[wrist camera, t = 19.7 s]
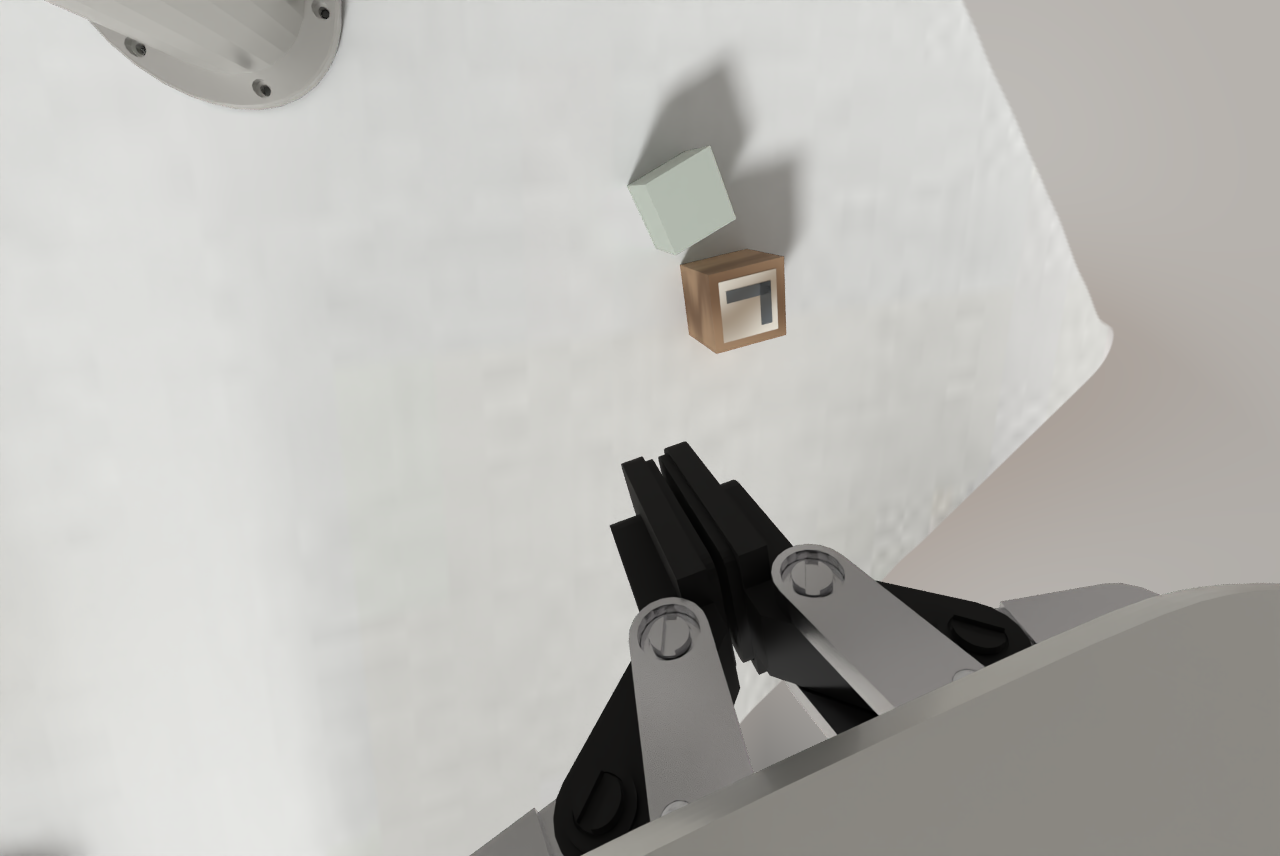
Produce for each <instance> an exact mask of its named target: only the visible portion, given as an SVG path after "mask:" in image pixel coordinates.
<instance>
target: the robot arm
mask: <svg viewBox="0 0 1280 856" xmlns="http://www.w3.org/2000/svg"><path fill="white" fill-rule="evenodd" d="M44 1H47V2H49V3H51V4H53V5H56V6H58V7H60V8H63V9H65V10H67V11H69V12H72V13H74V14H76V15H79V16H81V17H83V18H86V19H88V21H89V22H90V23H91V24H92V25H93V26H94V27H95V28H96V29H97V30H98V31H99V32H100V34H101V35H102V36H103V37H104V38H105V39H106V40H107V41H108V42H109V43H110V44H111V45H112V46H114V47H115V48H116V49H117V50H118V51H119V52H121V53H122V54H123V55H124V56H125V57H127V58H128V59H129V60H130V61H131V62H132V63H134V64H135V65H136V66H138V67H139V68H141V69H142V70H144V71H145V72H147V73H148V74H150V75H151V76H153V77H154V78H156V79H158V80H159V81H161V82H162V83H164V84H166V85H168V86H170V87H172V88H174V89H176V90H179V91H181V92H183V93H185V94H187V95H189V96H191V97H194V98H197V99H200V100H203V101H206V102H209V103H212V104H217V105H221V106H225V107H230V108H234V109H250V110H263V109H269V108H275V107H281V106H284V105H286V104H288V103H291V102H293V101H295V100H298V99H300V98H302V97H303V96H304V95H305V94H307V93H308V92H309V91H311V90H312V89H313V88H315V87H316V86H317V85H318V83H319V82H320V81H321V79H322V78H323V77H324V76H325V74H326V73H327V72H328V70H329V68H330V66H331V64H332V61H333V59H334V57H335V54H336V52H337V49H338V44H339V38H340V33H341V28H342V2H341V0H44ZM324 9H325V10H328V11H329V18H327V19H323V18H322V17H321V11H322V10H324ZM142 46H145V48H146V54H145V55H143V53H142V51H141V47H142ZM266 86H268V87H269V88H270V89H271V94H270V95H269V96H266V95H265V94H264V91H263V89H264V87H266ZM664 453H665V455H662V456H660V457H658V459H659V464H660V468H661V472H662V474H661V472H660V471H659V469H658V467H657V466H656V464H655V462H654V461H653V459H651V460H648V461H645V460H644V458H643V457H639V458H636V459H633V460H631V461H628V462H625V463H622V464H621V466H622V470H623V473H624V477H625V480H626V483H627V487H628V490H629V493H630V497H631V500H632V503H633V507H634V510H635V513H636V516H634V517H631V518H628V519H626V520H623V521H620V522H617V523H615V524H612V525H610V528H611V531H612V534H613V537H614V540H615V543H616V545H617V548H618V551H619V554H620V557H621V560H622V563H623V566H624V569H625V572H626V575H627V577H628V580H629V583H630V586H631V589H632V592H633V595H634V598H635V601H636V603H637V606H638V609H639V613H638V615H637V616H636V617H635V618H634V620H633V622H632V625H631V627H630V630H629V647H630V656H631V662H630V664H629V665H628V667H627V669H626V671H625V673H624V674H623V676H622V678H621V680H620V682H619V683H618V685H617V687H616V689H615V691H614V692H613V694H612V696H611V698H610V700H609V701H608V703H607V705H606V707H605V708H604V710H603V712H602V714H601V716H600V717H599V719H598V721H597V723H596V725H595V726H594V728H593V730H592V732H591V734H590V735H589V737H588V739H587V741H586V743H585V744H584V746H583V748H582V750H581V752H580V753H579V755H578V757H577V759H576V761H575V762H574V764H573V766H572V768H571V770H570V771H569V773H568V775H567V777H566V779H565V780H564V782H563V784H562V787H561V789H560V791H559V794H558V796H557V799H555V800H554V801H553V802H551V803H550V804H549V805H547V806H546V807H545V808H543V809H542V810H541V811H539V812H538V811H537V810H536V809H535V808H533V809H532V810H531V811H529V812H528V813H527V814H525V815H524V816H523V817H521V818H520V819H518V820H517V821H516V822H514V823H513V824H512V825H510V826H509V827H508V828H506V829H505V830H504V831H502V832H501V833H500V834H498V835H497V836H496V837H494V838H493V839H492V840H490V841H489V842H488V843H486V844H485V845H484V846H482V847H481V848H480V849H478V850H477V851H475V852H474V853H473V854H471V855H470V856H1280V584H1275V583H1250V584H1225V585H1224V584H1223V585H1214V586H1205V587H1198V588H1191V589H1185V590H1179V591H1175V592H1171V593H1167V594H1163V595H1159V594H1156V593H1154V592H1151V591H1149V590H1146V589H1144V588H1141V587H1137V586H1132V585H1127V584H1123V583H1113V584H1110V583H1109V584H1100V585H1095V586H1088V587H1082V588H1077V589H1071V590H1065V591H1059V592H1053V593H1048V594H1043V595H1036V596H1030V597H1025V598H1019V599H1013V600H1008V601H1002V602H1000V607H999V608H996V609H993V608H992V607H988V606H985V605H982V604H979V603H976V602H972V601H967V600H962V599H958V598H953V597H949V596H944V595H939V594H935V593H930V592H926V591H921V590H917V589H912V588H908V587H902V586H898V585H894V584H889V583H884V582H880V581H875V580H874V579H872V578H871V577H870V576H868V575H867V574H866V573H865V572H863V571H862V570H861V569H860V568H858V567H857V566H856V565H854V564H853V563H852V562H851V561H849V560H848V559H847V558H846V557H844V556H843V555H842V554H840V553H838V552H837V551H835V550H833V549H831V548H828V547H825V546H822V545H814V544H803V545H796V546H792V544H791V543H790V542H789V541H788V540H787V539H786V537H785V536H784V535H783V534H782V533H781V532H780V530H779V529H778V528H777V527H776V526H775V525H774V523H773V522H772V521H771V520H770V519H769V517H768V516H767V515H766V514H765V513H764V512H763V510H762V509H761V508H760V507H759V506H758V505H757V503H756V502H755V501H754V500H753V499H752V498H751V496H750V495H749V494H748V493H747V492H746V490H745V489H744V488H743V487H742V486H741V485H740V484H739V483H738V482H737V481H736V480H731V481H729V482H726V483H723V484H719V483H718V481H717V480H716V479H715V477H714V476H713V475H712V474H711V472H710V471H709V470H708V469H707V467H706V466H705V465H704V463H703V462H702V461H701V460H700V458H699V457H698V456H697V454H696V453H695V452H694V451H693V449H692V448H691V447H690V445H689V444H688V443H687V442H686V441H685V442H682V443H679V444H676V445H673V446H670V447H668V448H665V449H664ZM732 644H733V646H734V648H735V650H736V652H737V654H738V656H739V657H740V659H741V661H742V662H743V663H744V662H747V661H749V660H751V661H752V663H753V665H754V667H755V668H756V670H757V672H758V674H759V675H760V674H762V673H764V672H766V671H767V672H768V673H769V675H770V676H773V677H776V678H779V679H782V680H785V681H786V684H787V686H788V688H789V690H790V691H791V693H792V694H793V695H794V697H795V698H796V699H797V700H798V702H799V703H800V704H801V706H802V707H803V708H804V710H805V711H806V712H807V713H808V715H809V716H810V717H811V718H812V719H813V721H814V722H815V723H816V725H817V726H818V727H819V728H820V730H821V731H822V732H823V733H824V735H825V736H826V737H827V738H828V739H827V740H825V741H823V742H821V743H819V744H817V745H814V746H812V747H810V748H808V749H806V750H804V751H801V752H799V753H797V754H795V755H793V756H791V757H788V758H786V759H784V760H782V761H780V762H777V763H775V764H773V765H771V766H769V767H767V768H765V769H762V770H760V771H759V772H756V773H754V771H753V768H752V765H751V762H750V758H749V755H748V752H747V748H746V745H745V742H744V738H743V735H742V732H741V728H740V725H739V722H738V718H737V715H736V712H735V709H734V704H735V701H736V698H737V695H738V693H739V690H740V685H739V680H738V675H737V671H736V660H735V655H734V651H733V646H732Z"/></svg>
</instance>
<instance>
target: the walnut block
mask: <svg viewBox="0 0 1280 856" xmlns="http://www.w3.org/2000/svg"><path fill="white" fill-rule="evenodd" d="M680 268H681V276H682V284H683V291H684V299H685V306H686V314H687V322H688V329H689V335H690V336H692V337H693V338H695V339H696V340H698V341H699V342H700V343H702V344H703V345H705V346H706V347H707V348H709V349H710V350H712V351H713V352H715V353H716V354H718V353H722V352H725V351H729V350H732V349H736V348H740V347H743V346H747V345H751V344H754V343H758V342H761V341H765V340H769V339H772V338H776V337H780V336H783V335H786V312H785V277H784V256H779V255H774V254H769V253H764V252H759V251H754V250H749V249H744V250H740V251H736V252H732V253H728V254H723V255H719V256H715V257H711V258H707V259H703V260H698V261H694V262H690V263H686V264H682V265H680Z"/></svg>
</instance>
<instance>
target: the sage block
mask: <svg viewBox="0 0 1280 856" xmlns="http://www.w3.org/2000/svg"><path fill="white" fill-rule="evenodd" d="M627 187H628V189H629V191H630V194H631V196H632V198H633V200H634V202H635V204H636V207H637V209H638V211H639V213H640V215H641V217H642V220H643V222H644V224H645V226H646V228H647V231H648V233H649V235H650V237H651V239H652V241H653V244H654V246H655V248H656V249H659V250H662V251H665V252H668V253H671V254H674V255H677V254H679V253H681V252H682V251H684V250H686V249H687V248H689V247H690V246H692V245H694V244H695V243H697V242H699V241H700V240H702V239H704V238H705V237H707V236H709V235H710V234H712V233H714V232H715V231H717V230H719V229H720V228H722V227H724V226H725V225H727V224H729V223H730V222H732V221H734V220H735V219H736V217H735V214H734V211H733V208H732V205H731V203H730V200H729V197H728V194H727V191H726V189H725V186H724V183H723V180H722V177H721V174H720V172H719V169H718V166H717V163H716V160H715V158H714V155H713V152H712V149H711V146H706V147H701V148H697V149H693V150H689V151H685V152H683V153H681V154H679V155H678V156H676V157H674V158H673V159H671V160H669V161H668V162H666V163H664V164H663V165H661V166H659V167H658V168H656V169H654V170H653V171H651V172H649V173H648V174H646V175H645V176H643V177H641V178H640V179H638V180H636V181H635V182H633V183H631V184H630V185H628V186H627Z"/></svg>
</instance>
